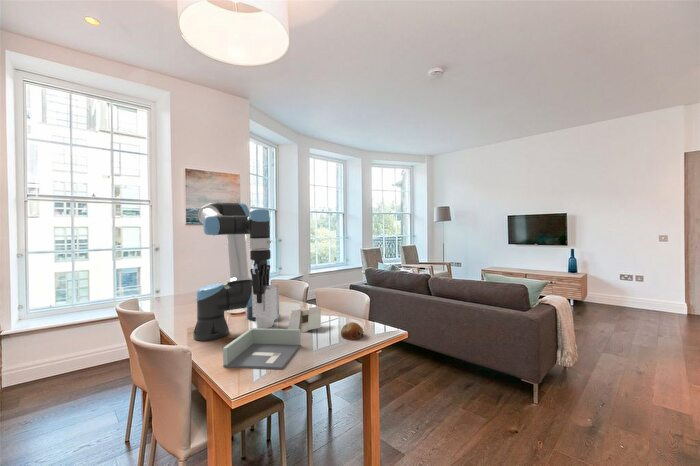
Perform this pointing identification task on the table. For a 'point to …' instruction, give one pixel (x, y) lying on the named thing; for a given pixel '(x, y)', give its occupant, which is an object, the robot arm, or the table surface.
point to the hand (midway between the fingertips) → (261, 310)
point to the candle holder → (263, 323)
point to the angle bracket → (268, 303)
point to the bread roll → (352, 331)
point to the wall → (306, 319)
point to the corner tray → (262, 348)
